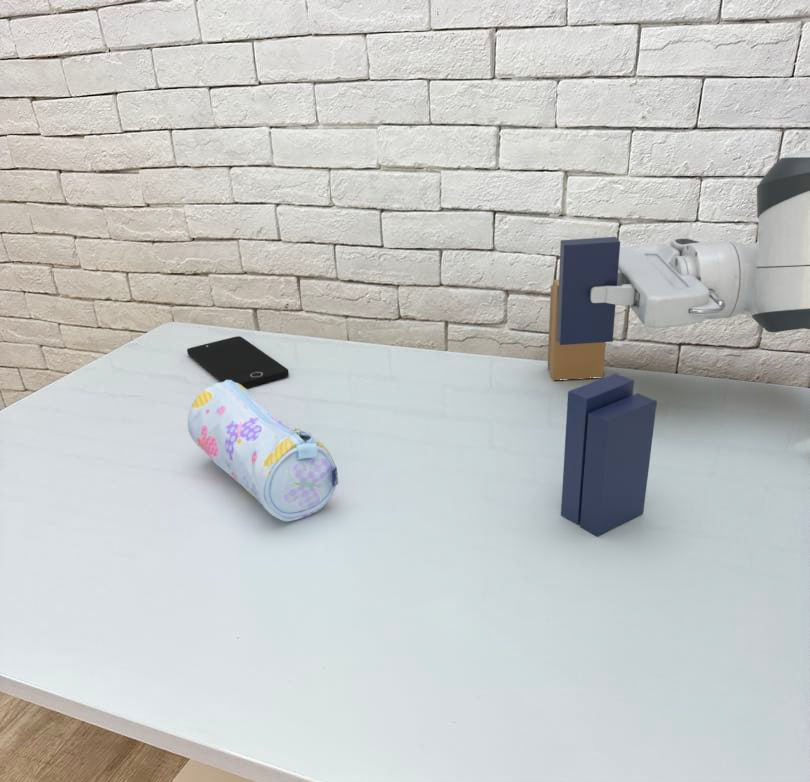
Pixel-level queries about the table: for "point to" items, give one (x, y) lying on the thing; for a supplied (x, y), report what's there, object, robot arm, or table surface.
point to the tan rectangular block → (571, 351)
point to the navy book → (586, 290)
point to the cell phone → (237, 362)
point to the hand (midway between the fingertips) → (586, 289)
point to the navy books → (606, 454)
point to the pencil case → (262, 451)
